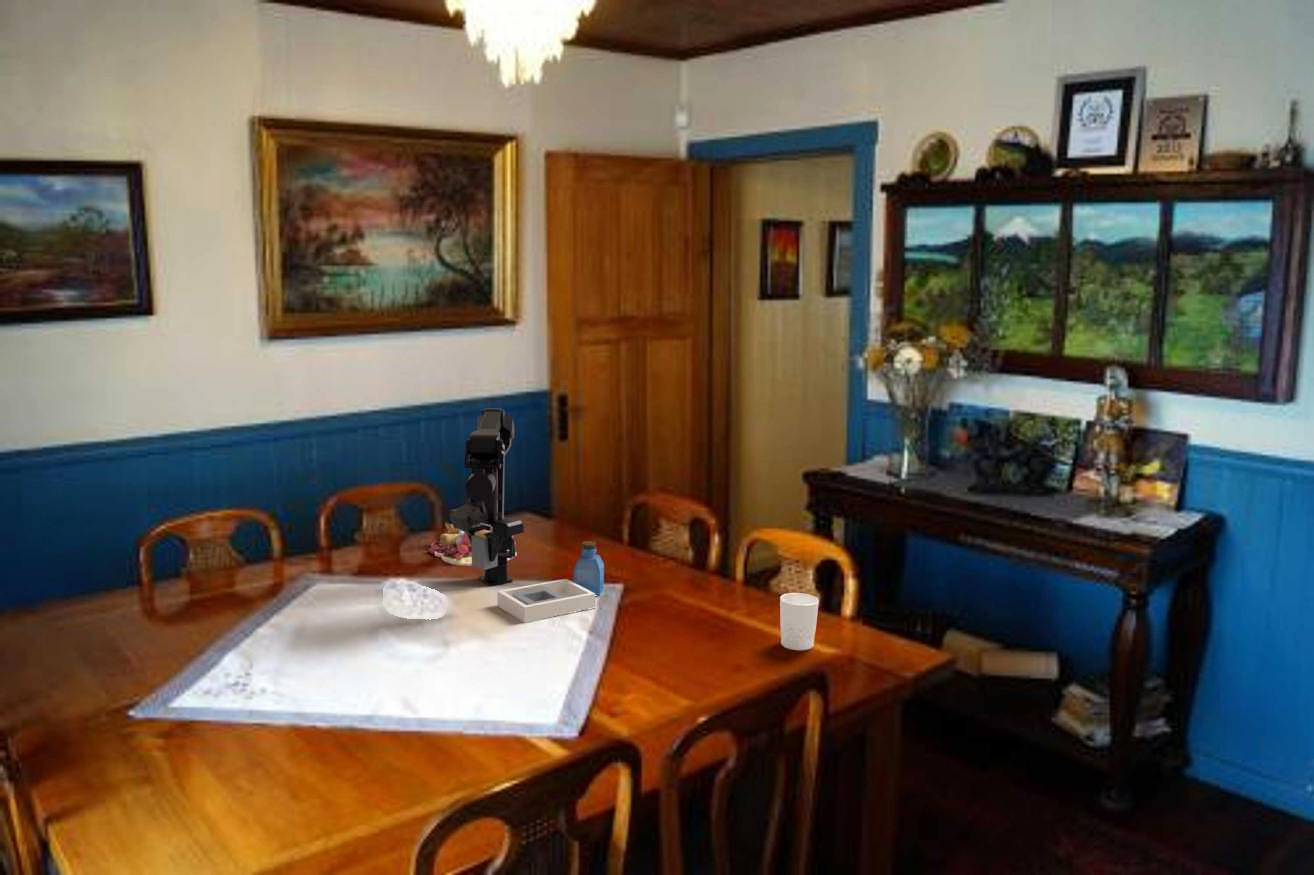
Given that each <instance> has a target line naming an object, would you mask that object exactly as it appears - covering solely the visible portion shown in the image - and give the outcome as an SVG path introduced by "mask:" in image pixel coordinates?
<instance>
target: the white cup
mask: <svg viewBox="0 0 1314 875" xmlns="http://www.w3.org/2000/svg"><path fill="white" fill-rule="evenodd" d="M779 599H780V600H779V601H780V603H779V607H780V608H779V609H780V610H779V611H780V612H779V614H780V616H779V619H780V623H779V624H780V625H779V626H780V638H781V640H780V644H781V646H783V648H786V649H788V650H793V651H808V650H811V649H812V648H814V644H815V634H816V629H817V623H818V621H817V620H818V611H819V610H818V609H819V602H820V601H819V598H818V597H817V596H814V595H812V594H808V593H804V592H803V593H802V592H791V593H784V594H782V595H780V597H779Z"/></svg>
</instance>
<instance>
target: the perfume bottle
mask: <svg viewBox="0 0 1314 875" xmlns="http://www.w3.org/2000/svg"><path fill="white" fill-rule="evenodd" d="M596 544H597V542H596V541H592V540H591V541H583V542H582V548H581V553H582V554H581V556H579V558H578V561H577V563H576V564H575V567H574V569H573V582H574V583H576V584H578V585H580V586H582V587H583V588H585V589H587V590H589V591H591V592H593V593H595V595H597V596H600V597H601V595H602V593H603V591H602V590H604V589H603V588H605V587H604V585H605V584H604V583H605V582H604V581H605V580H604V579H605V577H604V576H605V574H604V572H605V571H604V570H605V563H604V562H603V560H602V558H601V556H600V554H596V553H597V547H596ZM601 592H602V593H601ZM600 594H601V595H600Z"/></svg>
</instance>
